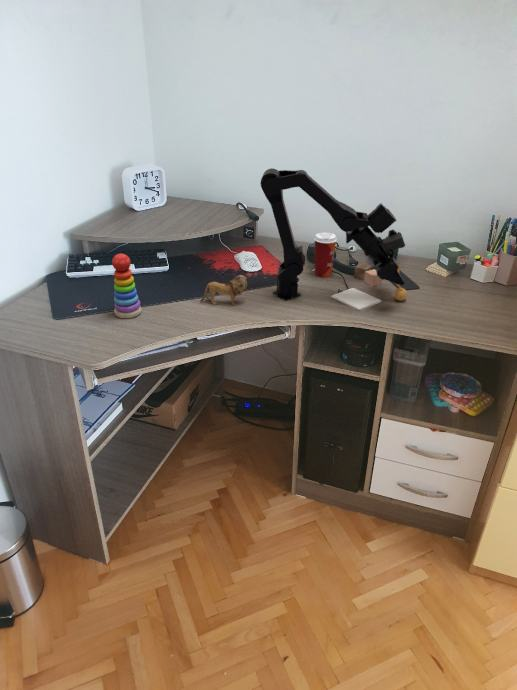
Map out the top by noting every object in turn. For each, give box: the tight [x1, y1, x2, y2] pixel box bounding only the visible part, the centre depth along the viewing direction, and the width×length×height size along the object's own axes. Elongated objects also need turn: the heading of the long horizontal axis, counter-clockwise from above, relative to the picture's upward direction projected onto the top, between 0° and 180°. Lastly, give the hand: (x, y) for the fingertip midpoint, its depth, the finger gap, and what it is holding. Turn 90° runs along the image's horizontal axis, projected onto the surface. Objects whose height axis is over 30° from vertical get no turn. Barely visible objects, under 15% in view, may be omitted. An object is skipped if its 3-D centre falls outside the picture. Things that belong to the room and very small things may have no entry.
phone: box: [389, 271, 420, 291], centre depth 185 cm, size 7×1×15 cm
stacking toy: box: [111, 253, 142, 319], centre depth 158 cm, size 8×8×19 cm
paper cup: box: [313, 231, 338, 279], centre depth 186 cm, size 8×8×14 cm
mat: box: [330, 287, 382, 311], centre depth 172 cm, size 12×10×1 cm
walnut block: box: [353, 263, 372, 281], centre depth 187 cm, size 4×4×4 cm
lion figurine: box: [199, 274, 248, 307], centre depth 168 cm, size 15×5×9 cm, turn 93°
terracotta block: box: [363, 268, 382, 287], centre depth 183 cm, size 4×4×4 cm
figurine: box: [393, 263, 408, 302], centre depth 169 cm, size 8×6×12 cm
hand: (401, 278), depth 169 cm, fingers open, 9 cm apart
